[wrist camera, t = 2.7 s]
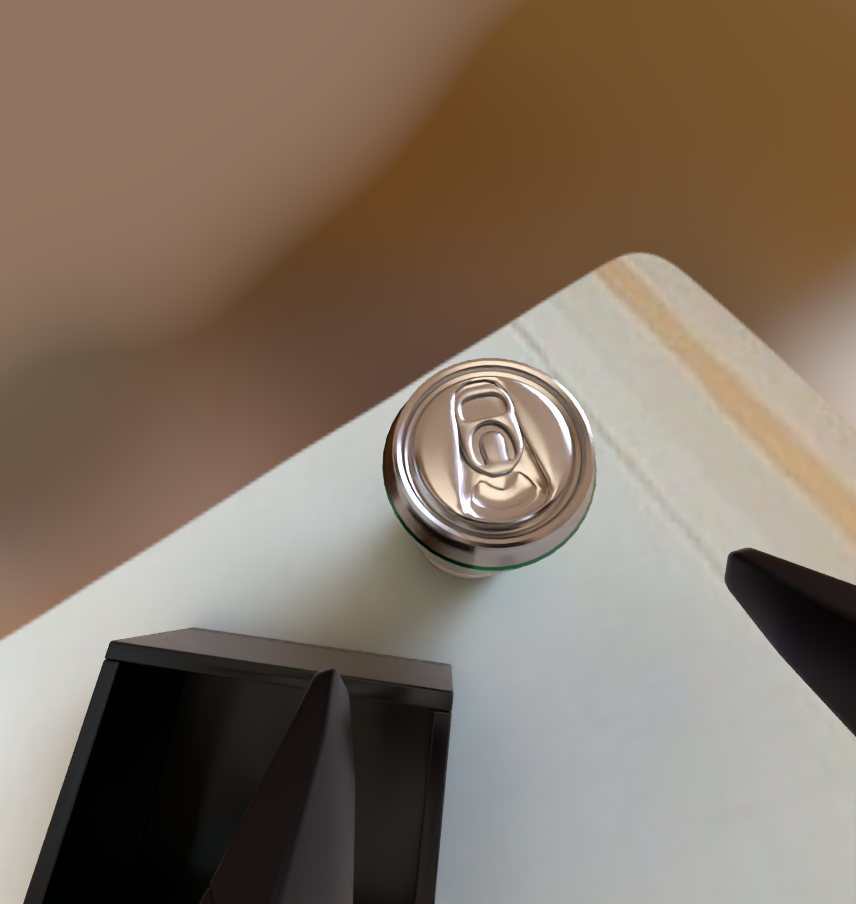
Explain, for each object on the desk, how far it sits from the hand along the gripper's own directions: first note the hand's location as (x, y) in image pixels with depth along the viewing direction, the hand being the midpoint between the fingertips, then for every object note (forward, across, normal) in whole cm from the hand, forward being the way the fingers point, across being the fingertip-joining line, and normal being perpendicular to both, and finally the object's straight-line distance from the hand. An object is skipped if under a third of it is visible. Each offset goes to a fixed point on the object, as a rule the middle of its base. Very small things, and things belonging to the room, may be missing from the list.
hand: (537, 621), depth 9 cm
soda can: (+10, 0, +5) cm, 11 cm away
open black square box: (+4, +10, +11) cm, 15 cm away
